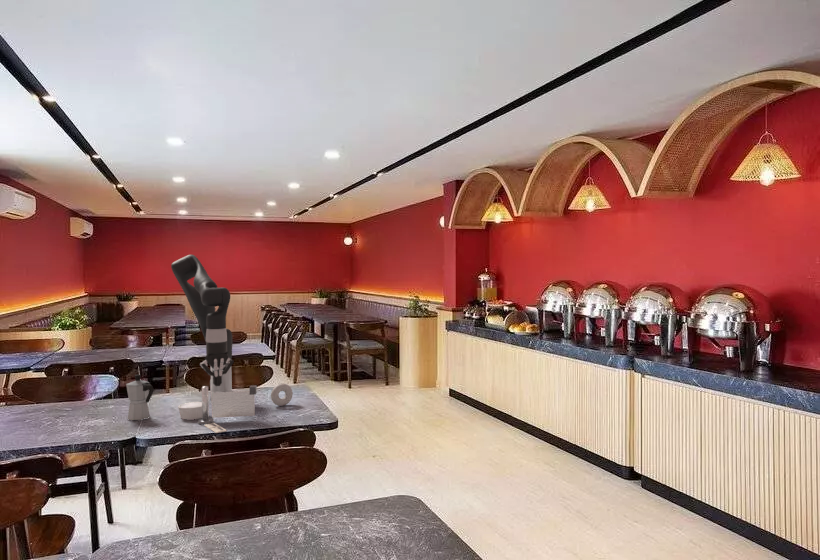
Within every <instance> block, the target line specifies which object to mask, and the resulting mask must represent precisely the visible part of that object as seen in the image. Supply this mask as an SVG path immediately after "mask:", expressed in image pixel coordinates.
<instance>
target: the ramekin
mask: <svg viewBox="0 0 820 560" xmlns="http://www.w3.org/2000/svg"><path fill="white" fill-rule="evenodd" d="M177 409H178V411H179V415H180V419H182V420H184V419H187V420H186V421H194V419H195V420H200V419H202V401H190V402H186V403H181V404H179V405H178V408H177Z"/></svg>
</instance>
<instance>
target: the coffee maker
mask: <svg viewBox="0 0 820 560" xmlns="http://www.w3.org/2000/svg"><path fill="white" fill-rule="evenodd" d="M141 376H142V375H141V374H134V381H131V382H129V383H126V384H125V385H126V391H127V396H128V400H129V407H128V412H127V413H128V414H127V420H128V419H129V420H128V421H130V420H138V421H142V420H141V419H144V418H148V417H149V416H150V409H149V404H148V403H149V402H150V401H151V398H152V397H153V396H152V395H153V393H154V391H155V389H154V387H153V385H152V384H151V383H150V382H149V381H148V380H147V381H146V380H141ZM149 418H150V417H149ZM149 418H148V419H149ZM144 420H145V419H144Z"/></svg>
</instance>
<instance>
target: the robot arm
mask: <svg viewBox="0 0 820 560" xmlns="http://www.w3.org/2000/svg"><path fill="white" fill-rule="evenodd" d="M170 266H171V268H170V269H171V271H172V273H173V276H174V277H175V279H176V281H177V283H178V284H179V286H180V287H181V289H182V291H183V293H184V294H185V297H186V299H187V301H188V304H189V306H190V309H191V310H192V313H193V314H194V316H195V318H196V320H197V322H198V324H199V327H200V330H201V332H202V335H203V339H204V341H205V344H206V345H205V351H206V353H205V354H206V356H205V358H204V360H203V361H202V362H200V363H199V366H200V368H201V369H203V371H205V373H206V374H207V375H208V376H210V380H209V387H210V389H209V391H210V392H209V393H210V398H211V393H212V392H227V391H233V387H232V386H233V385H232V384H233V383H232V382H233V380H232V379H233V378H232V375H233V374H232V366H233V364H234V363H235V360H233V359H232V358H233V332H232V331H231V330H230V329H229V328H227V314H228V309H229V306H230V301H231V292H230V290H229V289H228V288H227V287H218V285H217V283H216V282H215V281H214V279H212V278H211V276H209V274H208V273H207V271H206V269H205V267H204V266H203V264H202V262H201V261H200V260H199V258H197V256H196V255H194V254H188V255H185V256H183V257H181V258H179V259H176V260H175V261H173V262H172V263H171V265H170ZM191 279H193V285H192V284H191V283H189V282H188V281H190V280H191ZM216 307H218V308H217V310H216ZM208 366H210V368H209V367H208ZM210 401H211V403H212V400H211V399H210Z"/></svg>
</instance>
